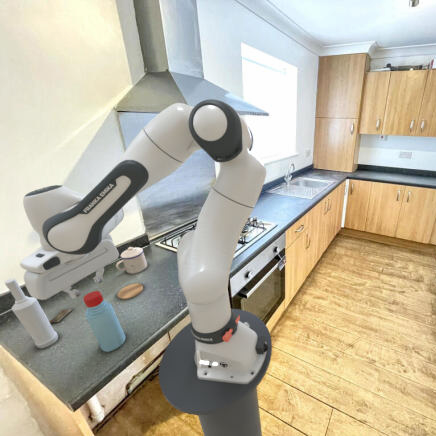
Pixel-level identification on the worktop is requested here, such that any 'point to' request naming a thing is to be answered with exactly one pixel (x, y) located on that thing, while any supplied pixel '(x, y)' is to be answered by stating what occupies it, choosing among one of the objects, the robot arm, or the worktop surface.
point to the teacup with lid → (133, 260)
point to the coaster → (130, 291)
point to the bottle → (32, 316)
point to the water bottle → (105, 326)
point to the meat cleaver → (60, 315)
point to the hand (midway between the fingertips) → (88, 288)
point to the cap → (93, 299)
